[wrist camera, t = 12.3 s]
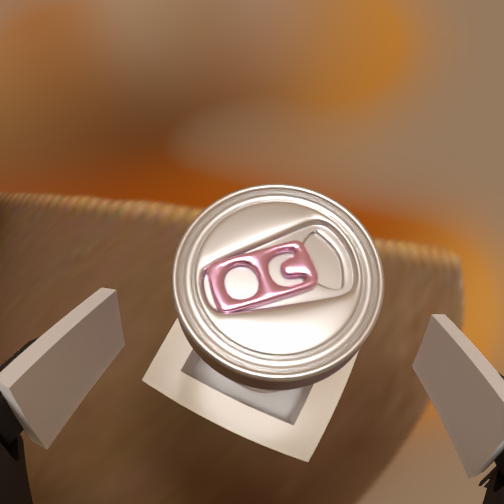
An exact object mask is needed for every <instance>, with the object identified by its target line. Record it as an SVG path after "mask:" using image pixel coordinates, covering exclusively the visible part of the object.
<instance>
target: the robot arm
mask: <svg viewBox="0 0 504 504" xmlns="http://www.w3.org/2000/svg"><path fill="white" fill-rule="evenodd" d="M124 346H125V341H124V336H123V330H122V325H121V319H120V312H119V306H118V299H117V291H116V290H114V289H108V288H100V289H99V290H98V291H97V292H95V293H94V294H93V295H91V296H90V297H89V298H87V299H86V300H85V301H84V302H82V303H81V304H80V305H79V306H77V307H76V308H75V309H74V310H72V311H71V312H70V313H69V314H67V315H66V316H65V317H64V318H62V319H61V320H60V321H59V322H57V323H56V324H55V325H54V326H53V327H51V328H50V329H49V330H48V331H47V332H45V333H44V334H43V335H42V336H41V337H38V338H36V339H34V340H32V341H30V342H28V343H27V344H26V345H24V346H23V347H22V348H21V349H20V351H17V352H16V353H15V354H14V355H13V357H11V358H10V359H8V360H7V361H6V362H5V363H4V364H3V365H2V366H1V367H0V504H33V502H32V497H31V493H30V488H29V482H28V476H27V470H26V463H25V455H24V445H23V439H22V436H21V435H20V433H21V432H22V431H23V429H24V431H25V432H26V434H27V435H28V437H29V438H30V439H31V441H33V442H34V443H36V444H38V445H39V446H41V447H43V448H45V449H46V450H48V448H49V447H50V445H51V444H52V442H53V441H54V440H55V438H56V437H57V435H58V434H59V432H60V431H61V430H62V428H63V427H64V425H65V424H66V423H67V421H68V420H69V418H70V417H71V416H72V414H73V413H74V411H75V410H76V409H77V407H78V406H79V405H80V403H81V402H82V401H83V399H84V398H85V397H86V395H87V394H88V393H89V391H90V390H91V388H92V387H93V386H94V385H95V383H96V382H97V381H98V379H99V378H100V377H101V375H102V374H103V373H104V371H105V370H106V369H107V367H108V366H109V365H110V364H111V362H112V361H113V360H114V358H115V357H116V356H117V355H118V353H119V352H120V351H121V349H122V348H123V347H124ZM412 367H413V369H414V371H415V373H416V374H417V376H418V378H419V380H420V381H421V383H422V385H423V387H424V389H425V390H426V392H427V394H428V396H429V398H430V399H431V401H432V403H433V405H434V407H435V409H436V411H437V413H438V414H439V416H440V418H441V420H442V422H443V424H444V426H445V428H446V430H447V432H448V434H449V436H450V438H451V441H452V443H453V445H454V446H455V449H456V451H457V453H458V455H459V458H460V460H461V462H462V464H463V466H464V469H465V471H466V473H467V476H468V478H470V477H473V476H475V475H478V474H480V473H482V472H484V471H485V470H486V469H487V468H488V467H489V466H490V465H491V464H492V463H493V461H495V463H496V465H497V466H496V467H495V468H494V469H493V470H492V471H491V472H490V473H489V474H488V475H487V476H486V477H485V478H484V479H483V480H482V481H481V482H480V484H479V486H481V485H483V484H484V483H485V482H486V481H487V480H488V479H489V482H488V483H487V484H486V485H485V486H484V487H486V488H487V491H486V494H485V498H484V501H483V504H504V377H503V376H502V375H501V374H499V373H498V372H497V371H496V370H495V369H494V368H493V366H492V365H491V364H490V363H489V362H488V361H487V360H486V358H485V357H484V356H483V355H482V354H481V353H480V351H479V350H478V349H477V348H476V347H475V346H474V345H473V344H472V343H471V342H470V340H469V339H468V338H467V337H466V336H465V335H464V334H463V333H462V332H461V331H460V330H459V329H458V328H457V326H456V325H455V324H454V323H453V322H452V321H451V320H450V319H449V318H448V317H447V316H446V315H445V314H431V317H430V320H429V323H428V326H427V329H426V332H425V335H424V338H423V340H422V343H421V346H420V348H419V351H418V353H417V356H416V358H415V361H414V363H413V366H412Z"/></svg>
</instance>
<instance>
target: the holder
mask: <svg viewBox="0 0 504 504" xmlns="http://www.w3.org/2000/svg"><path fill="white" fill-rule="evenodd" d="M358 352H359V351H358ZM358 352H357V353H356V354H355V356H354V357H353V358H352V359H351V360H350V361H349V362H348V363H347V364H346V365H345V366H344V367H342V368H341V369H340V370H338V371H337V372H336V373H334V374H332V375H331V376H329V377H327V378H326V379H324V380H322V381H319V382H317V383H315V384H312V385H309V386H305V387H301V388H297V389H291V390H285V391H279V392H272V393H259V392H254V391H251V390H249V389H246V388H244V387H243V386H241V385H239V384H237V383H235V382H233V381H232V380H230V379H228V378H226V377H225V376H223V375H221V374H220V373H218V372H217V371H215V370H214V369H212V368H211V367H210V366H209V365H208V364H206V363H205V362H204V361H203V360H202V359H201V358H200V357H199V356H198V354H197V353H196V352H195V351H194V349H193V348H192V347H191V345H190V344H189V342H188V340H187V339H186V337H185V335H184V333H183V331H182V328H181V326H180V323H179V320H178V318H177V320H176V321H175V323H174V325H173V326H172V328H171V330H170V332H169V333H168V335H167V337H166V339H165V340H164V342H163V344H162V345H161V347H160V349H159V351H158V352H157V354H156V356H155V358H154V360H153V361H152V363H151V365H150V367H149V368H148V370H147V372H146V374H145V375H144V377H143V379H142V381H144V382H145V383H147V384H148V385H150V386H151V387H153V388H155V389H156V390H158V391H159V392H161V393H162V394H164V395H166V396H167V397H169V398H171V399H172V400H174V401H176V402H177V403H179V404H181V405H182V406H184V407H186V408H188V409H189V410H191V411H193V412H195V413H197V414H198V415H200V416H202V417H204V418H206V419H208V420H210V421H212V422H214V423H216V424H218V425H220V426H222V427H224V428H226V429H228V430H230V431H232V432H234V433H236V434H238V435H240V436H243V437H245V438H247V439H249V440H252V441H254V442H256V443H259V444H261V445H263V446H266V447H268V448H271V449H273V450H276V451H278V452H281V453H284V454H286V455H289V456H292V457H295V458H297V459H300V460H303V461H306V462H309V460H310V458H311V456H312V454H313V452H314V451H315V449H316V447H317V445H318V443H319V441H320V439H321V437H322V435H323V433H324V431H325V429H326V427H327V425H328V423H329V421H330V419H331V416H332V414H333V412H334V410H335V408H336V406H337V403H338V401H339V399H340V397H341V394H342V392H343V390H344V387H345V385H346V382H347V380H348V377H349V375H350V373H351V370H352V367H353V365H354V362H355V360H356V357H357V354H358Z"/></svg>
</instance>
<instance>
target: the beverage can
mask: <svg viewBox="0 0 504 504" xmlns="http://www.w3.org/2000/svg"><path fill="white" fill-rule="evenodd" d="M171 287H172V295H173V301H174V305H175V308H176V312H177V316H178V320H179V323H180V326H181V328H182V331H183V333H184V335H185V337H186V339H187V340H188V342H189V344H190V345H191V347H192V348H193V349H194V351H195V352H196V353H197V354H198V356H199V357H200V358H201V359H202V360H203V361H204V362H205V363H206V364H208V365H209V366H210V367H211V368H212V369H214V370H215V371H217V372H218V373H220V374H221V375H223V376H225V377H226V378H228V379H230V380H232V381H233V382H235V383H237V384H239V385H241V386H243V387H244V388H246V389H249V390H251V391H254V392H259V393H272V392H279V391H285V390H291V389H297V388H301V387H305V386H309V385H312V384H315V383H317V382H319V381H322V380H324V379H326V378H327V377H329V376H331V375H332V374H334V373H336V372H337V371H338V370H340V369H341V368H342V367H344V366H345V365H346V364H347V363H348V362H349V361H350V360H351V359H352V358H353V357H354V356H355V354H356V353H357V352H358V351H359V349H360V348H361V346H362V345H363V343H364V342H365V340H366V339H367V337H368V336H369V334H370V333H371V331H372V329H373V327H374V325H375V323H376V321H377V319H378V316H379V314H380V310H381V307H382V302H383V296H384V272H383V266H382V262H381V258H380V255H379V252H378V250H377V247H376V245H375V243H374V241H373V239H372V237H371V235H370V234H369V232H368V231H367V229H366V228H365V227H364V225H363V224H362V223H361V222H360V221H359V219H358V218H357V217H356V216H355V215H354V214H353V213H351V212H350V211H349V210H348V209H347V208H346V207H344V206H343V205H341V204H340V203H339V202H337V201H335V200H334V199H332V198H330V197H328V196H326V195H324V194H322V193H320V192H317V191H314V190H311V189H308V188H304V187H300V186H294V185H287V184H263V185H256V186H251V187H247V188H244V189H240V190H237V191H235V192H232V193H230V194H228V195H226V196H224V197H222V198H220V199H218V200H217V201H215V202H214V203H212V204H211V205H209V206H208V207H207V208H206V209H204V210H203V211H202V212H201V213H200V214H199V215H198V216H197V217H196V218H195V219H194V220H193V222H192V223H191V224H190V225H189V227H188V228H187V230H186V231H185V233H184V235H183V236H182V238H181V240H180V242H179V244H178V247H177V250H176V253H175V256H174V260H173V265H172V273H171Z"/></svg>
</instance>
